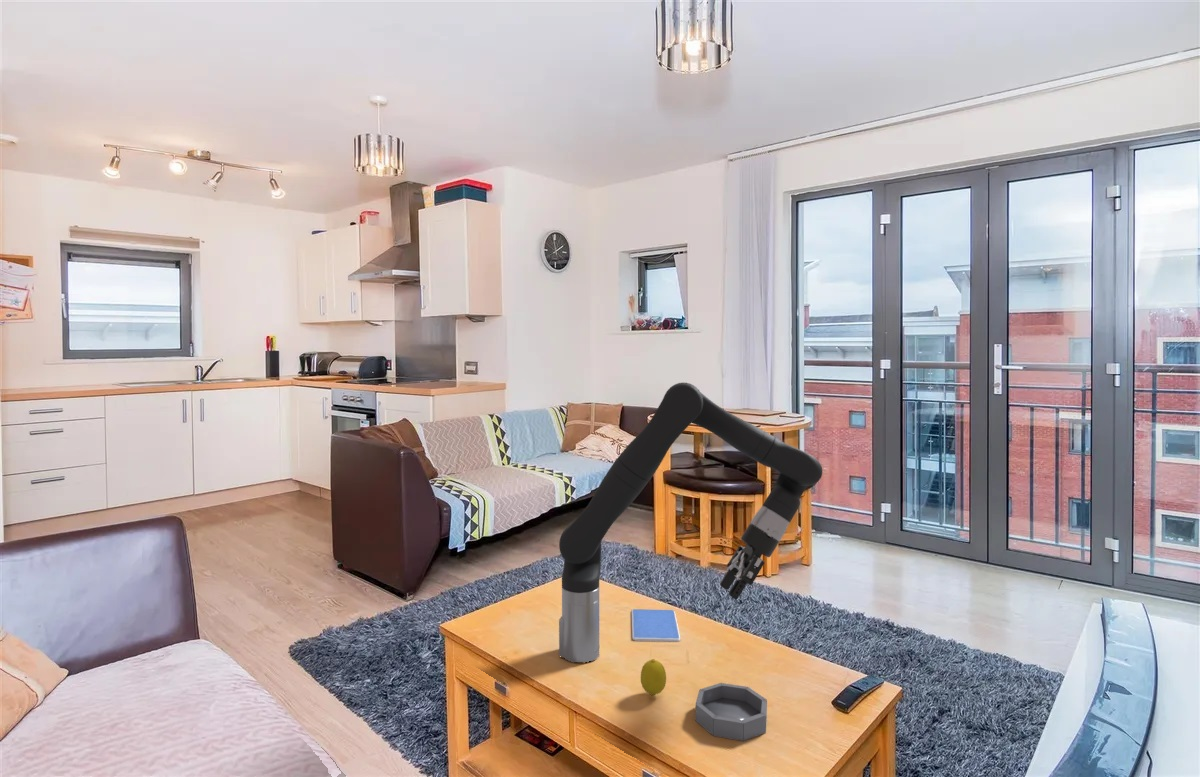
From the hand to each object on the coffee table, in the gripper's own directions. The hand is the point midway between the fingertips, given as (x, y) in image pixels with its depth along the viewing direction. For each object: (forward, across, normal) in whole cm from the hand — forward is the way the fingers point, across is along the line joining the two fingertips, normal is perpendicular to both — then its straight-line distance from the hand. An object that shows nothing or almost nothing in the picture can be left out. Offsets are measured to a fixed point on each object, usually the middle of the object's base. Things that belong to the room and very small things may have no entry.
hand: (727, 592), depth 141 cm
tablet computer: (+21, -32, -1) cm, 39 cm away
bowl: (+20, +12, +10) cm, 25 cm away
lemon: (+27, +3, -3) cm, 28 cm away
